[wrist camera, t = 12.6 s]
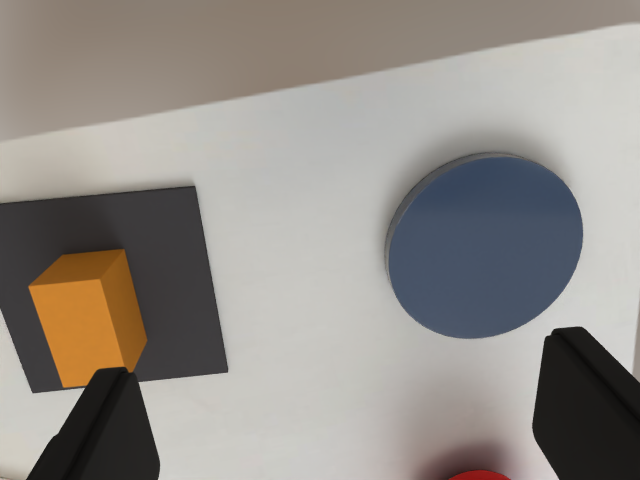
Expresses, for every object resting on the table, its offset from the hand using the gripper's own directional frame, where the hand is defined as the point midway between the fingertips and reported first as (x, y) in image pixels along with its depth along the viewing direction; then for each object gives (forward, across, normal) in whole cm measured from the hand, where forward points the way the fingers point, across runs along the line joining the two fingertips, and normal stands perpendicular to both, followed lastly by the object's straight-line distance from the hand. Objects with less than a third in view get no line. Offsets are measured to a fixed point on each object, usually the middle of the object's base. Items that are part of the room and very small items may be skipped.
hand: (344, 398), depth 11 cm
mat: (+24, +16, +10) cm, 31 cm away
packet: (+24, +16, +10) cm, 30 cm away
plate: (+25, -13, +8) cm, 29 cm away
